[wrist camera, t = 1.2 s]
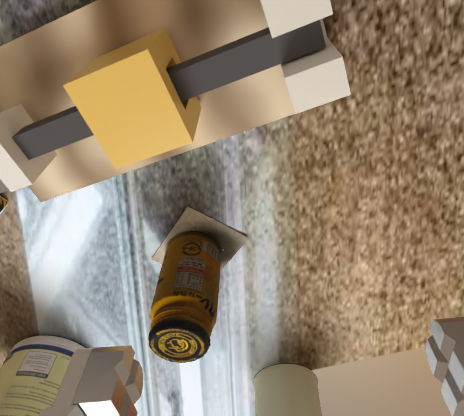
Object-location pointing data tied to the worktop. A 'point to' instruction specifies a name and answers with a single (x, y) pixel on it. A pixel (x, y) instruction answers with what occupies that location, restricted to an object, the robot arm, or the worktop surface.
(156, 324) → the condiment
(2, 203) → the medicine bottle
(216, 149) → the worktop surface
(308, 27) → the dark gray bar
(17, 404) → the supplement tub
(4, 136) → the white rectangular block
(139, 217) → the worktop surface
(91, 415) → the robot arm
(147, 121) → the sleeve
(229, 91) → the board
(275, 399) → the can
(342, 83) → the white bar support
